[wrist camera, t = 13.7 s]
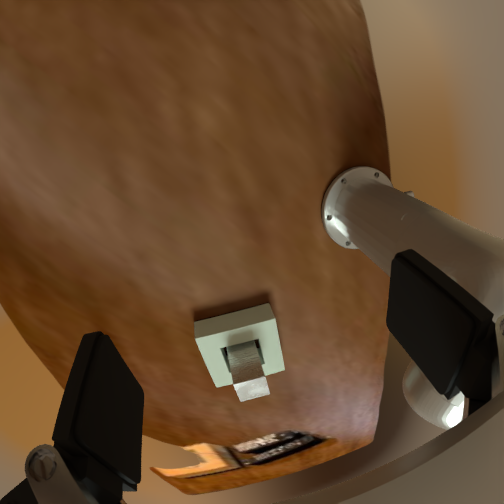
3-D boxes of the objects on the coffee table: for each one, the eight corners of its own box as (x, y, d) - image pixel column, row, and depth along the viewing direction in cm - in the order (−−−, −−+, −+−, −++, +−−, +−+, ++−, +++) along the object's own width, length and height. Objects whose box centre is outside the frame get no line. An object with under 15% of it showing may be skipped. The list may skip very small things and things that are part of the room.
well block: (269, 302, 46) (275, 318, 43) (279, 354, 52) (284, 370, 48) (194, 321, 45) (194, 338, 42) (214, 370, 51) (216, 387, 47)
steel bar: (250, 326, 48) (265, 376, 38) (255, 345, 50) (270, 394, 40) (223, 333, 47) (233, 384, 37) (230, 351, 49) (240, 401, 39)
